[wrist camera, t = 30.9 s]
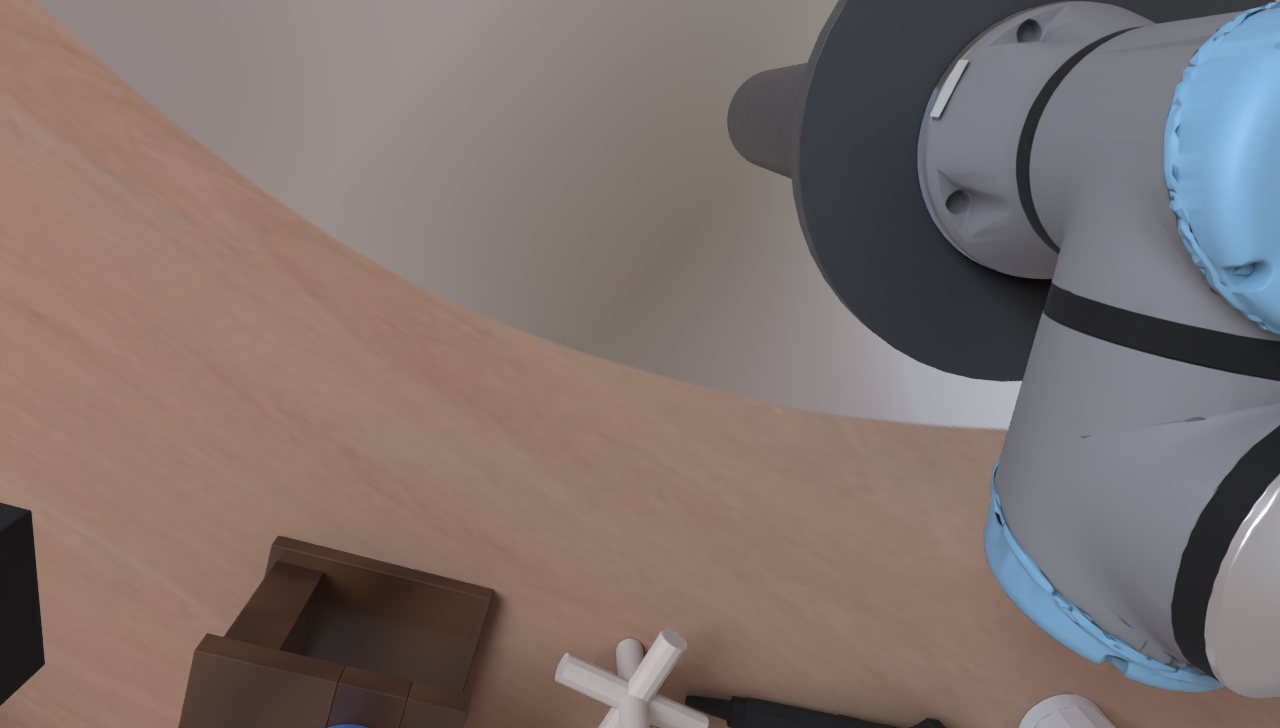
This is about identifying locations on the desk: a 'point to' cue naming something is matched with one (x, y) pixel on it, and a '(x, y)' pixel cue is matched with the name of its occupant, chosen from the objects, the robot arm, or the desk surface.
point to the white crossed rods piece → (634, 685)
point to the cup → (1065, 714)
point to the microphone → (781, 715)
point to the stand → (340, 647)
